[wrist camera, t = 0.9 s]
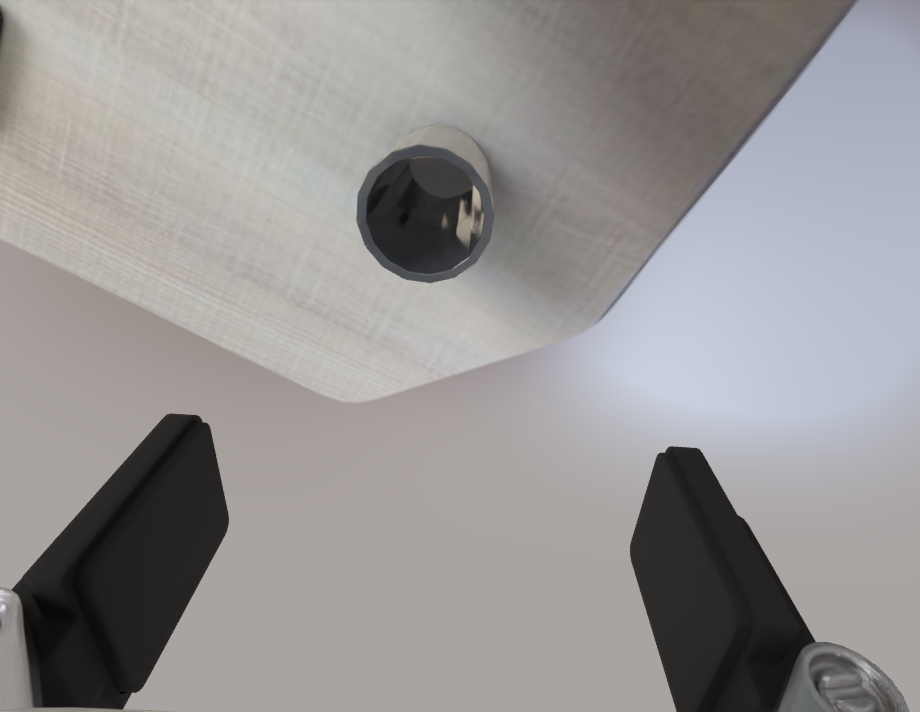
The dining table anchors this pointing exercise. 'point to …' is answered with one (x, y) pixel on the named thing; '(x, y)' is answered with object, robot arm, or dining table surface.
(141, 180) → the dining table surface
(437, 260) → the cup
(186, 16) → the dining table surface
